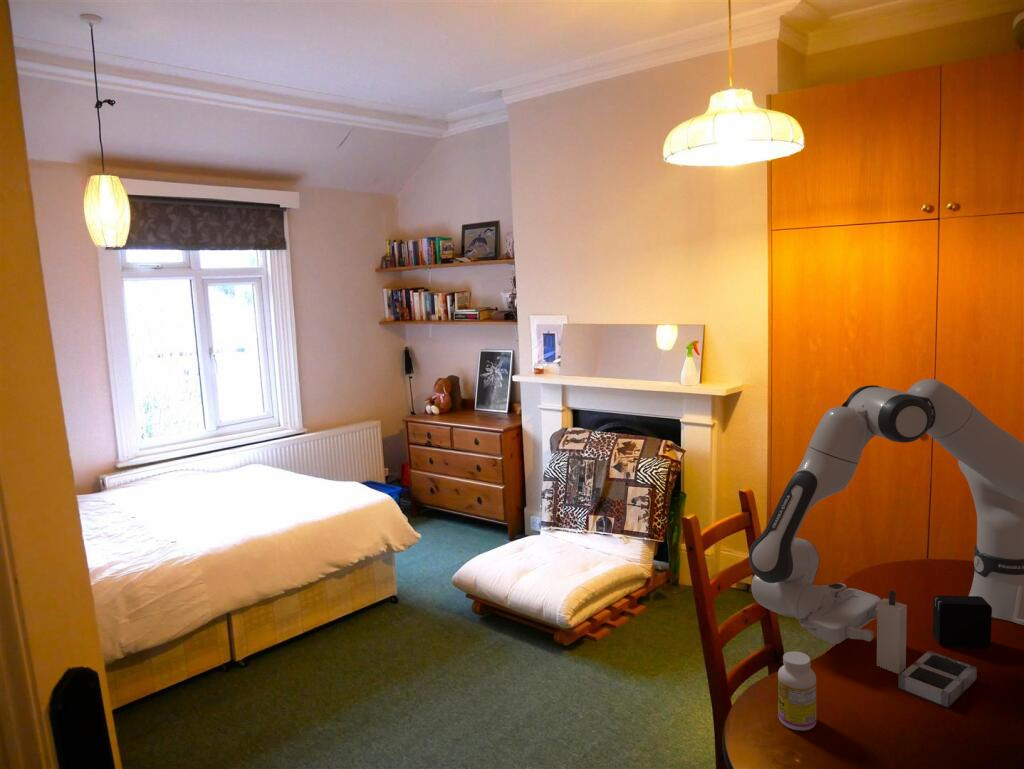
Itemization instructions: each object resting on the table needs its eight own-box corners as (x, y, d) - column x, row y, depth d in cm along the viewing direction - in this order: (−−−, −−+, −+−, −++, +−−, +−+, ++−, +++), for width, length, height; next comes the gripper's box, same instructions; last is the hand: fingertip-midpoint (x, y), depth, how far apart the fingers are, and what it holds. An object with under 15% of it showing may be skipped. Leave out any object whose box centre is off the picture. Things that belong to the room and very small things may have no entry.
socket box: (898, 688, 145) (898, 675, 144) (928, 663, 153) (928, 650, 152) (947, 708, 138) (948, 694, 137) (976, 680, 146) (976, 667, 145)
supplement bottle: (778, 708, 141) (778, 646, 139) (816, 713, 139) (815, 650, 137) (777, 729, 135) (777, 664, 133) (816, 735, 132) (816, 669, 130)
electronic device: (990, 648, 157) (992, 605, 155) (939, 647, 159) (940, 603, 157) (982, 639, 161) (983, 596, 159) (932, 637, 163) (933, 595, 161)
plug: (876, 665, 153) (877, 589, 150) (883, 660, 155) (884, 584, 152) (898, 674, 149) (900, 595, 147) (905, 668, 151) (907, 591, 149)
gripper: (794, 610, 156) (858, 632, 146) (843, 580, 169) (905, 598, 158) (794, 637, 157) (858, 661, 147) (843, 605, 170) (905, 626, 159)
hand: (883, 628), depth 152 cm, fingers open, 8 cm apart
